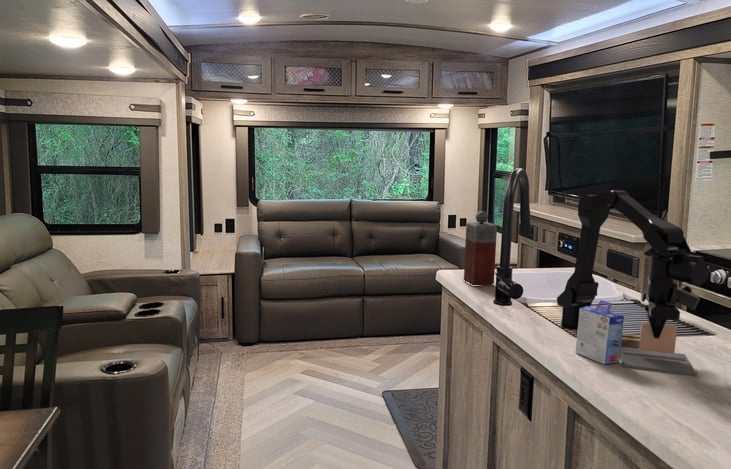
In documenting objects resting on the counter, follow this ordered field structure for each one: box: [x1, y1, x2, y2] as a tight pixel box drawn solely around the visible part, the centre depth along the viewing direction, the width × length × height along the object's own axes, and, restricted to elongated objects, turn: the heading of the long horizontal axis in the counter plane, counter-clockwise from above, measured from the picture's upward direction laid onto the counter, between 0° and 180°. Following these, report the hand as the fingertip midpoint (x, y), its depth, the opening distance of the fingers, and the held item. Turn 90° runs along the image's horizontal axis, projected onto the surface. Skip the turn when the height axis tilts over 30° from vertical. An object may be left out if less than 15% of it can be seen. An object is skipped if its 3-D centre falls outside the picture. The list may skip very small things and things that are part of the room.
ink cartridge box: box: [575, 299, 625, 365], centre depth 150 cm, size 10×6×14 cm, turn 28°
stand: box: [621, 332, 640, 348], centre depth 163 cm, size 12×6×2 cm, turn 72°
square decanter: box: [463, 210, 498, 285], centre depth 229 cm, size 9×11×28 cm
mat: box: [620, 346, 698, 377], centre depth 149 cm, size 16×14×1 cm
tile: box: [638, 321, 678, 354], centre depth 149 cm, size 8×1×7 cm, turn 72°
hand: (656, 337), depth 150 cm, fingers closed on tile, 1 cm apart
